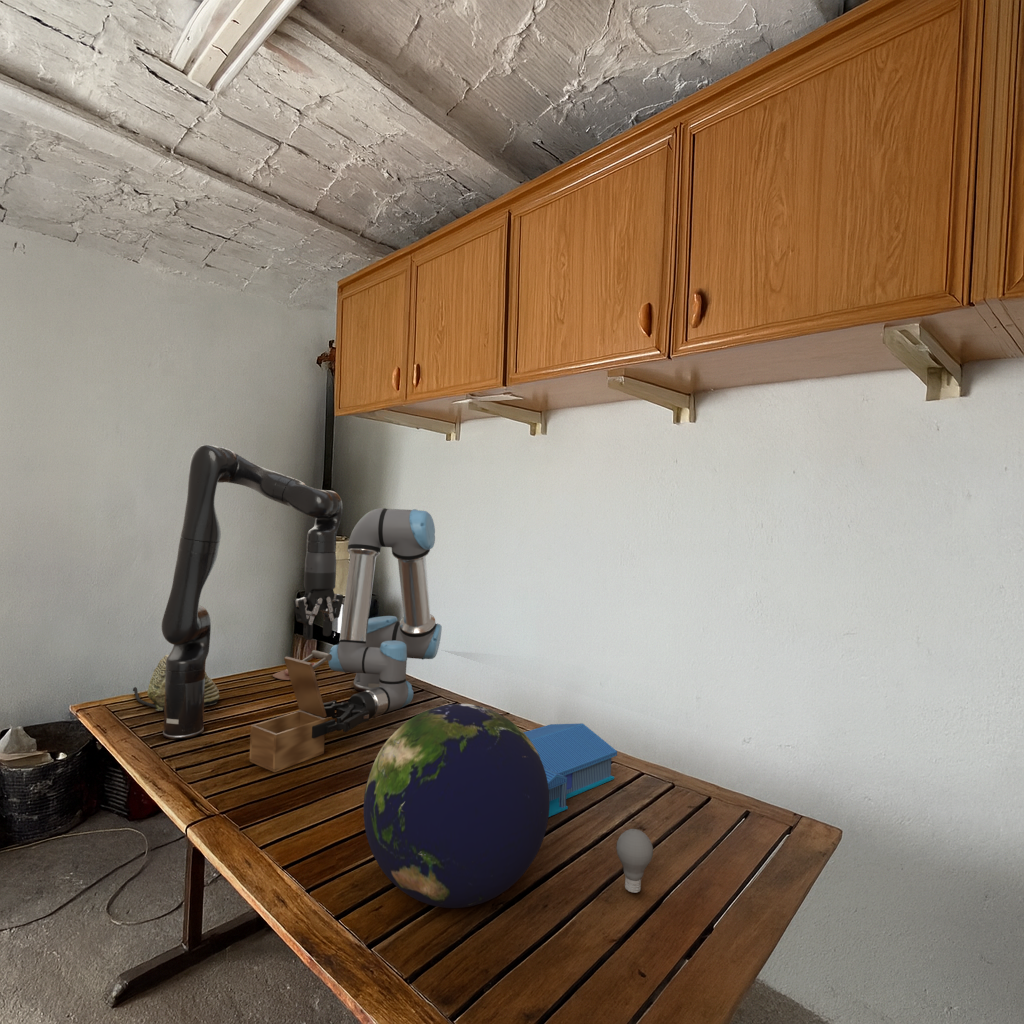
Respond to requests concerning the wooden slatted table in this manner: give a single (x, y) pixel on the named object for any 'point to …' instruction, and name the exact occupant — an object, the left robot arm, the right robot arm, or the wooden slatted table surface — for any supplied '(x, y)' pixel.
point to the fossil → (158, 687)
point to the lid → (307, 682)
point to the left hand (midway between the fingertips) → (317, 637)
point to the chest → (285, 741)
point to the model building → (571, 760)
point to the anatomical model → (284, 674)
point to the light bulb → (634, 857)
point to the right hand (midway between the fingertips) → (299, 727)
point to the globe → (456, 806)
